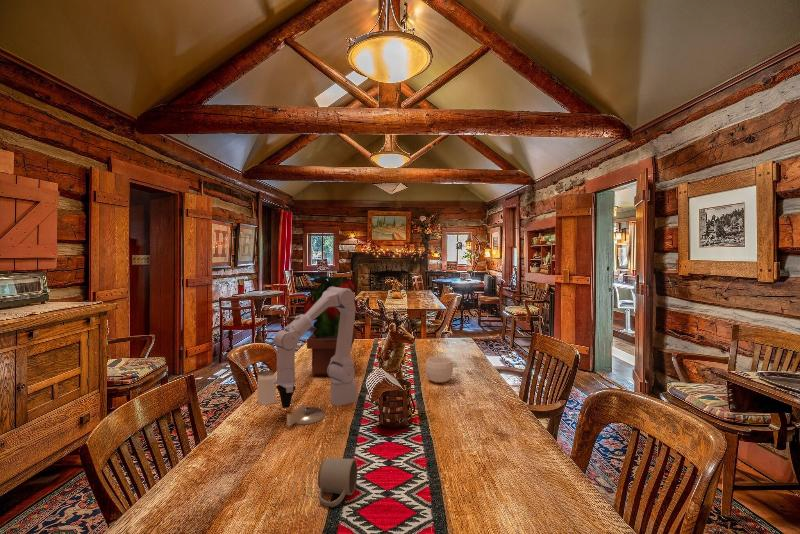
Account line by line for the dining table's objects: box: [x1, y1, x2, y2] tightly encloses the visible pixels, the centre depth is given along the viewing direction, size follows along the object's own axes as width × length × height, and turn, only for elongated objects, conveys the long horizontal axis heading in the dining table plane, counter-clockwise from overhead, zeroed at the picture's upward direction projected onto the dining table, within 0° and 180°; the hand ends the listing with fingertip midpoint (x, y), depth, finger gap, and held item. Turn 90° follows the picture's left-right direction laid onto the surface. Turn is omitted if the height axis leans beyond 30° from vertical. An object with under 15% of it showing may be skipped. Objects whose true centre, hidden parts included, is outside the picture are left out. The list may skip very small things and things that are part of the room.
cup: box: [424, 356, 454, 384], centre depth 179 cm, size 12×12×10 cm
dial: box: [286, 403, 325, 427], centre depth 134 cm, size 16×12×5 cm
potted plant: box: [303, 275, 359, 377], centre depth 189 cm, size 22×22×45 cm
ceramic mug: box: [317, 457, 358, 508], centre depth 95 cm, size 11×8×8 cm
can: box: [257, 370, 277, 406], centre depth 149 cm, size 6×6×12 cm
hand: (285, 407), depth 134 cm, fingers closed
